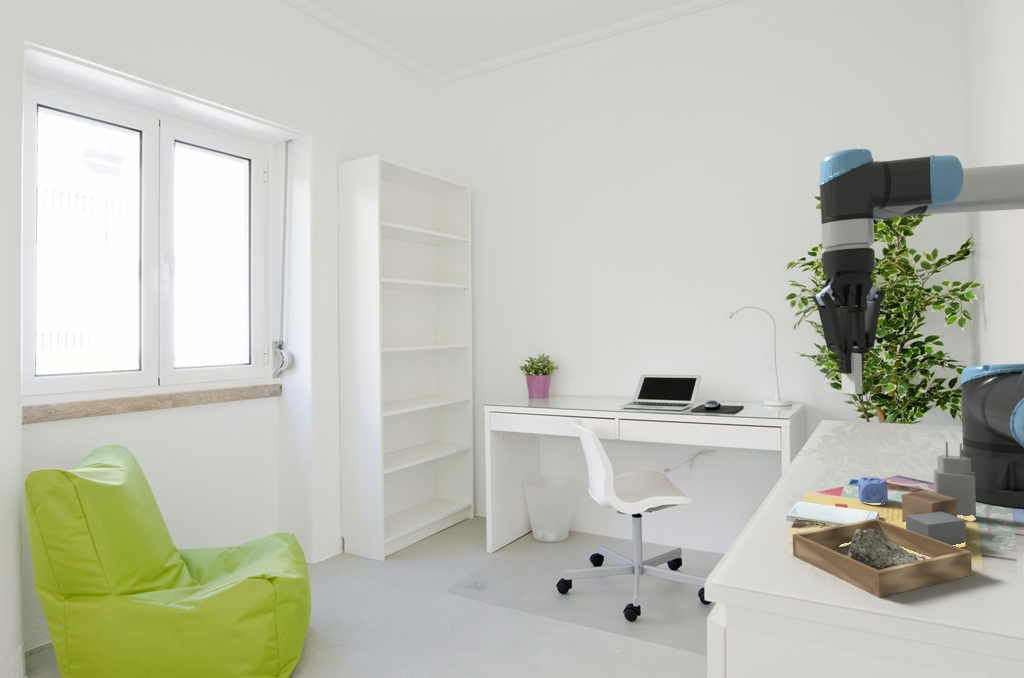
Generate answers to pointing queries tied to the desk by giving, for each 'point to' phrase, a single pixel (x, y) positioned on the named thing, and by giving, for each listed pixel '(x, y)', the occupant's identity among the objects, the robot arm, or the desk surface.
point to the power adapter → (956, 481)
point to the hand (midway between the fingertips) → (852, 392)
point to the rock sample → (878, 550)
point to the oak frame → (888, 581)
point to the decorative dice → (872, 490)
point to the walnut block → (927, 504)
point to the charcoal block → (938, 527)
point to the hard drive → (828, 514)
